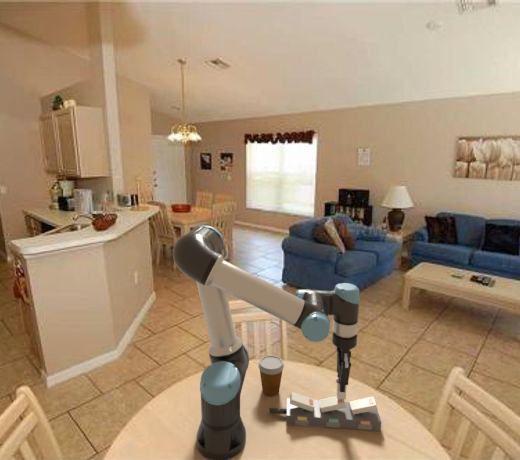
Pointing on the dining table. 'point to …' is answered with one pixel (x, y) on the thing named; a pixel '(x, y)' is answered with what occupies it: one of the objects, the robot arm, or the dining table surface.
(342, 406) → the cream switch plate
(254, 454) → the dining table surface
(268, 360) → the disposable coffee cup
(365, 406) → the cream rocker switch
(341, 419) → the power strip
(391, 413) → the dining table surface
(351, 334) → the robot arm
